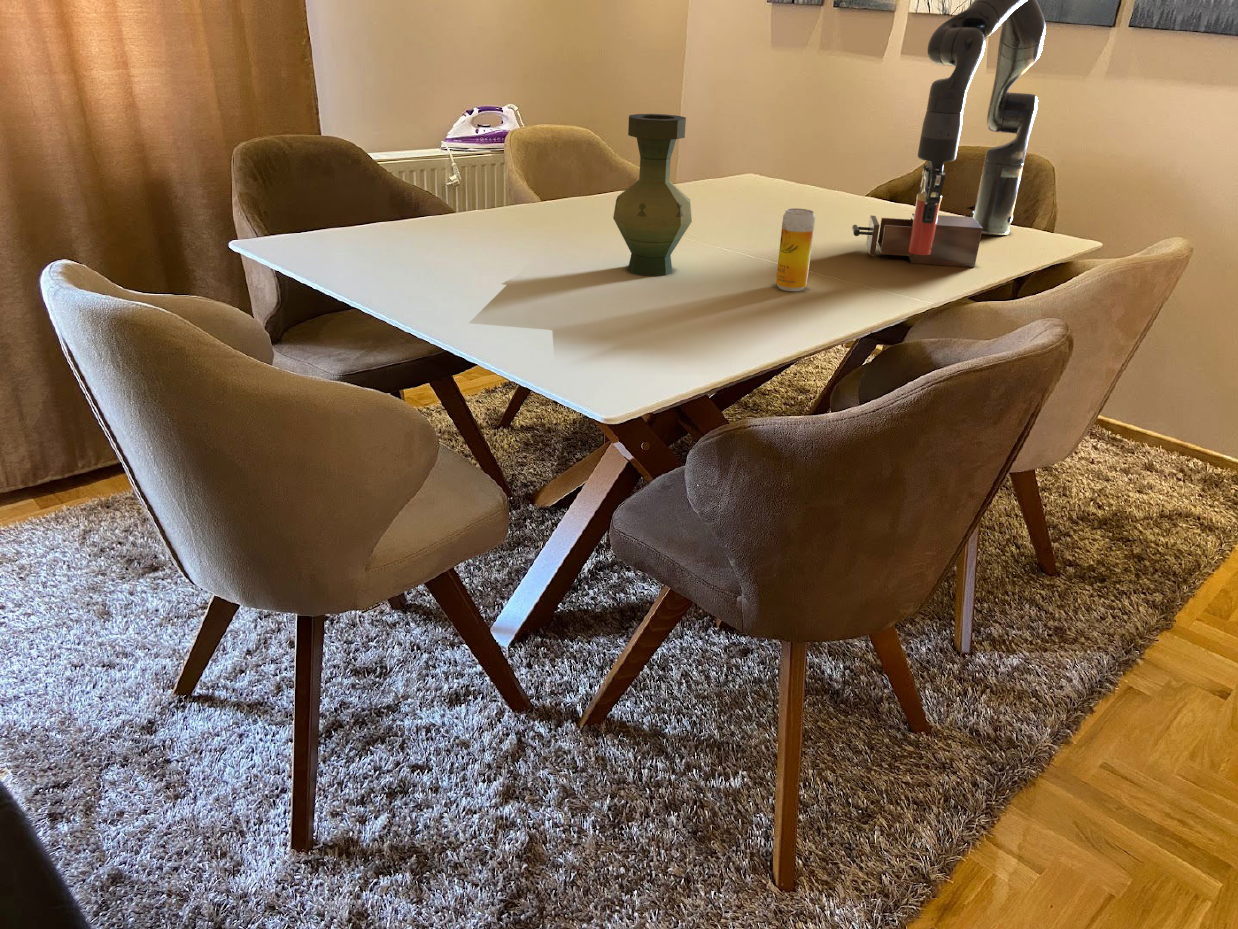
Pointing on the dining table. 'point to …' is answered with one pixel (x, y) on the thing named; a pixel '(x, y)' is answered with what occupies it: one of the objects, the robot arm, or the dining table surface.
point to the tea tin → (922, 228)
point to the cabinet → (953, 242)
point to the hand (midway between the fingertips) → (925, 219)
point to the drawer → (887, 235)
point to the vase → (653, 197)
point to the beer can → (795, 249)
